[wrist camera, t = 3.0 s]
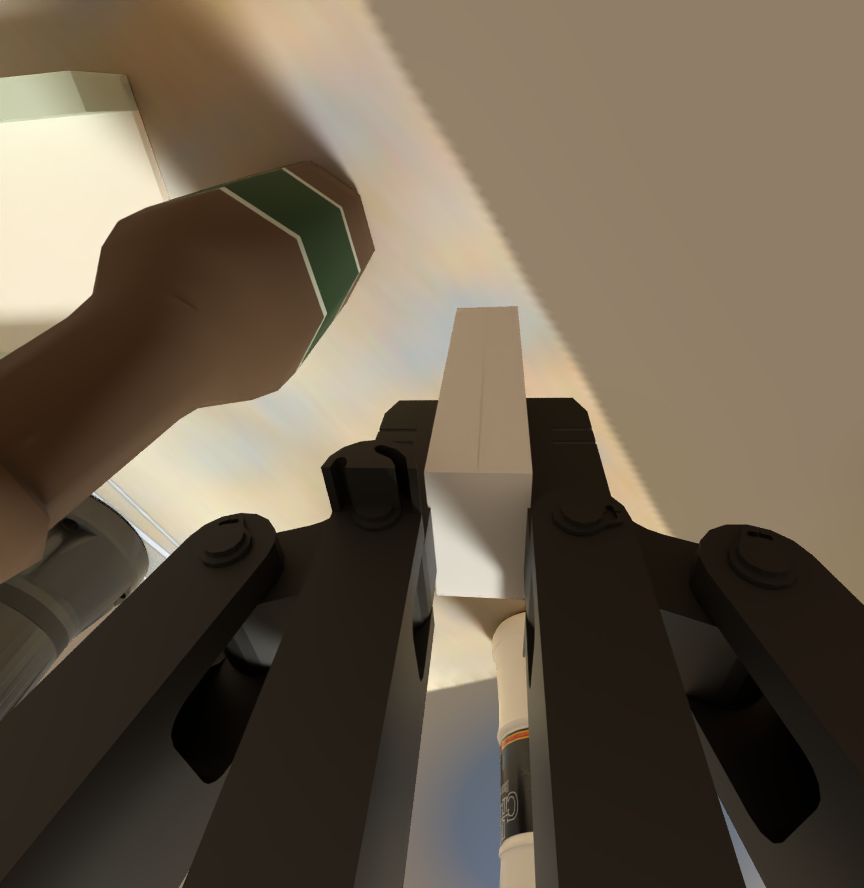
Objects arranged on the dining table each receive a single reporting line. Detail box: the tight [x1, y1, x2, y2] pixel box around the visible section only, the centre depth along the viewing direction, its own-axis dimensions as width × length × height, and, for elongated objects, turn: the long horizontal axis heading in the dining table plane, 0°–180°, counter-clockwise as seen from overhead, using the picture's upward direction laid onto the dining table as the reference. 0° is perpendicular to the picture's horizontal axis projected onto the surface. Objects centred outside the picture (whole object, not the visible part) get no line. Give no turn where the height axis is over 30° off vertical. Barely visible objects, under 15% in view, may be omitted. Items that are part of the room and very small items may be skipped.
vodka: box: [492, 612, 536, 888], centre depth 36 cm, size 9×9×30 cm
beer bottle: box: [0, 161, 375, 584], centre depth 18 cm, size 8×8×24 cm
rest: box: [0, 70, 169, 359], centre depth 29 cm, size 20×16×4 cm
